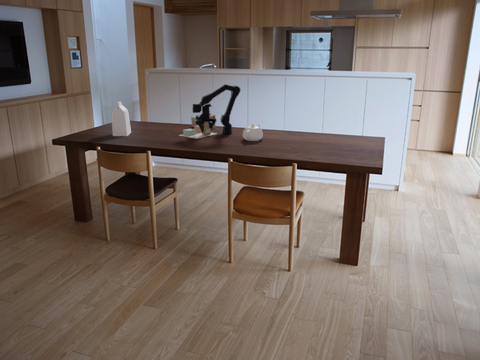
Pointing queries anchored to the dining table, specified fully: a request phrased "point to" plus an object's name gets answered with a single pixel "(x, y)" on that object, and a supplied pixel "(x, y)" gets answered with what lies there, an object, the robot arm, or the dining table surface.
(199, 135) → the board
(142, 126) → the dining table surface
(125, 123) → the milk
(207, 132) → the beech cube
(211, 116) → the stack of blocks
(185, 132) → the pedestal
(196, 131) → the terracotta cube
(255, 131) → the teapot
